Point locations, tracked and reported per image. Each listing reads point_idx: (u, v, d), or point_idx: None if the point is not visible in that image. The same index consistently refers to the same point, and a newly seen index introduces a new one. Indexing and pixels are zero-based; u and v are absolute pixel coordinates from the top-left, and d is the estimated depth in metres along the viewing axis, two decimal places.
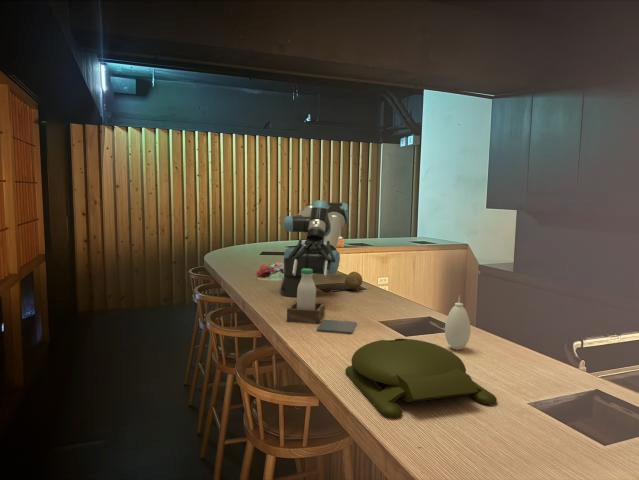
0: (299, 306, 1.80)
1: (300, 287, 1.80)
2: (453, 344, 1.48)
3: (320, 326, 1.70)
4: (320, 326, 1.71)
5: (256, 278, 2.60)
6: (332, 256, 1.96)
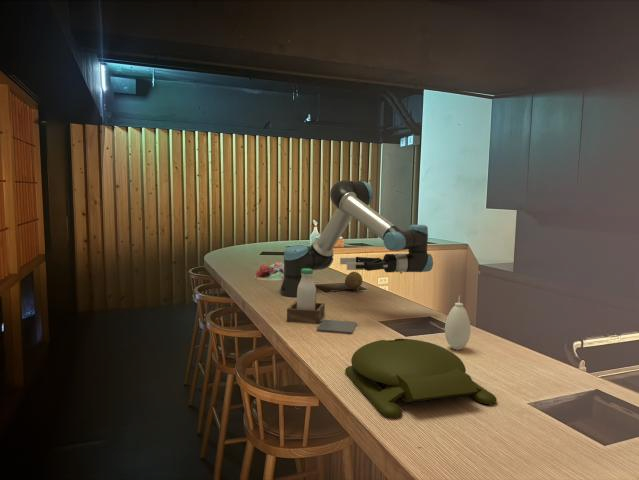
0: (299, 306, 1.80)
1: (300, 287, 1.80)
2: (453, 344, 1.48)
3: (320, 326, 1.70)
4: (320, 326, 1.71)
5: (256, 278, 2.60)
6: (359, 262, 1.94)
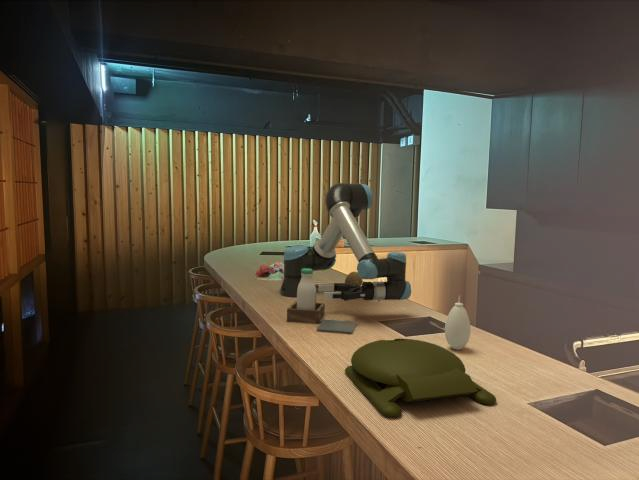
0: (299, 306, 1.80)
1: (300, 287, 1.80)
2: (453, 344, 1.48)
3: (320, 326, 1.70)
4: (320, 326, 1.71)
5: (255, 278, 2.60)
6: None
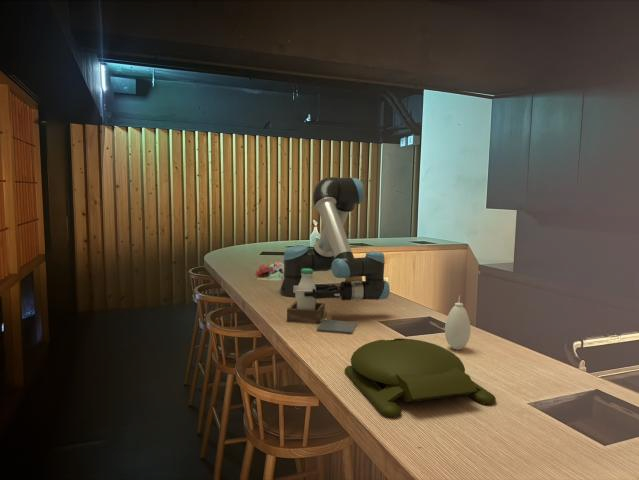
0: (299, 306, 1.80)
1: (300, 287, 1.80)
2: (453, 344, 1.48)
3: (320, 326, 1.70)
4: (320, 326, 1.71)
5: (255, 278, 2.60)
6: None
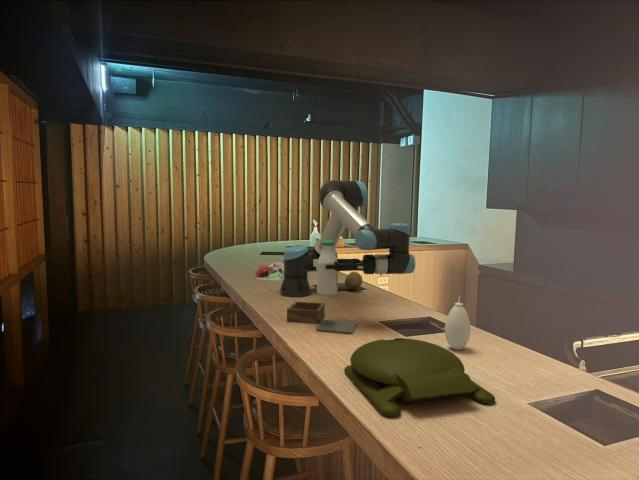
0: (320, 280, 1.70)
1: (321, 260, 1.70)
2: (453, 344, 1.48)
3: (320, 326, 1.70)
4: (320, 326, 1.71)
5: (255, 278, 2.61)
6: None
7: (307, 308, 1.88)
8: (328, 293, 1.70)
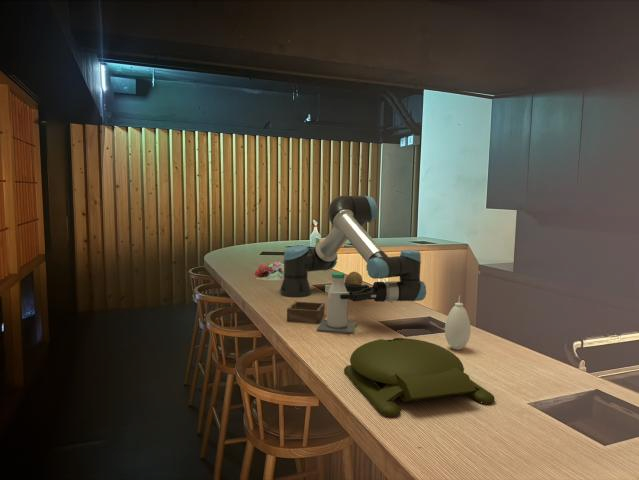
0: (330, 312, 1.68)
1: None
2: (453, 344, 1.48)
3: (320, 326, 1.70)
4: (320, 326, 1.71)
5: (254, 278, 2.61)
6: None
7: (307, 308, 1.88)
8: (338, 326, 1.68)
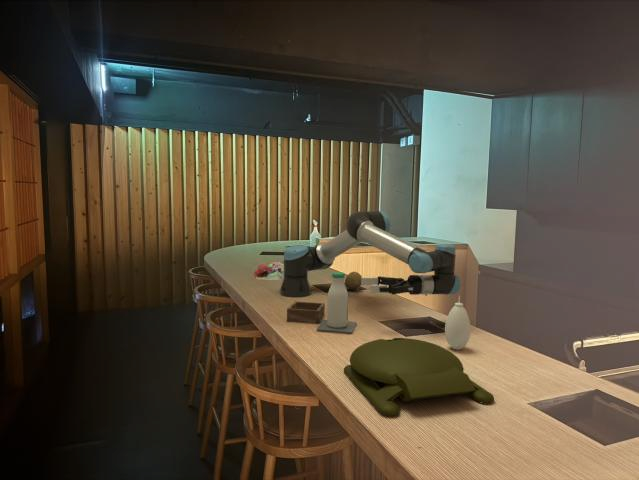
0: (330, 312, 1.69)
1: (331, 292, 1.68)
2: (453, 344, 1.48)
3: (320, 326, 1.70)
4: (320, 326, 1.71)
5: (254, 278, 2.61)
6: None
7: (307, 308, 1.88)
8: (338, 326, 1.68)
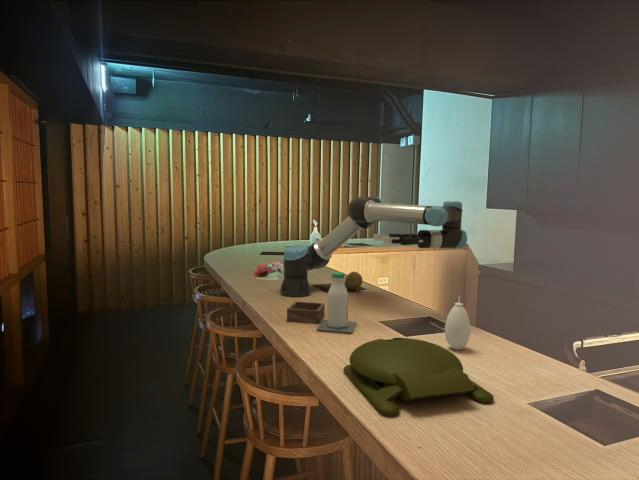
0: (330, 312, 1.69)
1: (331, 292, 1.68)
2: (453, 344, 1.48)
3: (320, 326, 1.70)
4: (320, 326, 1.71)
5: (254, 277, 2.61)
6: None
7: (307, 308, 1.88)
8: (338, 326, 1.68)
